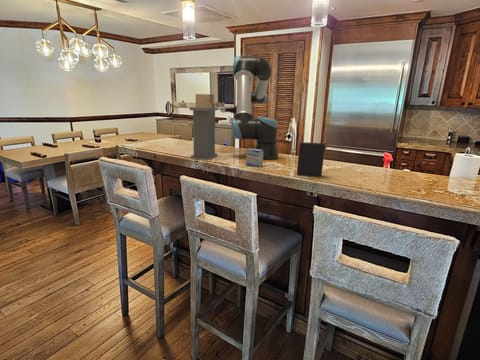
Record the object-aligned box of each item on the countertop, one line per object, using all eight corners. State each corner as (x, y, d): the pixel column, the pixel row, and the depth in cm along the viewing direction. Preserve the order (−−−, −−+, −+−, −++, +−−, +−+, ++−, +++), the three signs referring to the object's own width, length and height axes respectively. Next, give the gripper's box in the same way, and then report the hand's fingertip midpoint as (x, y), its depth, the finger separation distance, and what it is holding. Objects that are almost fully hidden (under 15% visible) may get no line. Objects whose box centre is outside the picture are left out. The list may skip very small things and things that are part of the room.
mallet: (217, 106, 182) (217, 95, 180) (228, 107, 179) (228, 95, 177) (195, 107, 158) (195, 94, 156) (208, 107, 155) (208, 94, 153)
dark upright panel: (320, 174, 135) (323, 142, 131) (321, 176, 131) (325, 144, 127) (296, 173, 136) (299, 141, 132) (297, 175, 132) (300, 143, 128)
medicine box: (245, 165, 148) (246, 149, 146) (249, 163, 152) (250, 147, 150) (259, 167, 145) (260, 150, 143) (262, 165, 149) (263, 149, 146)
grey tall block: (202, 153, 175) (202, 106, 168) (218, 155, 171) (219, 107, 164) (189, 158, 161) (188, 107, 153) (206, 160, 157) (206, 108, 149)
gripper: (255, 116, 207) (250, 116, 186) (222, 115, 212) (214, 115, 191) (256, 106, 205) (251, 105, 185) (222, 104, 210) (214, 103, 190)
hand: (232, 110), depth 188 cm, fingers open, 13 cm apart
